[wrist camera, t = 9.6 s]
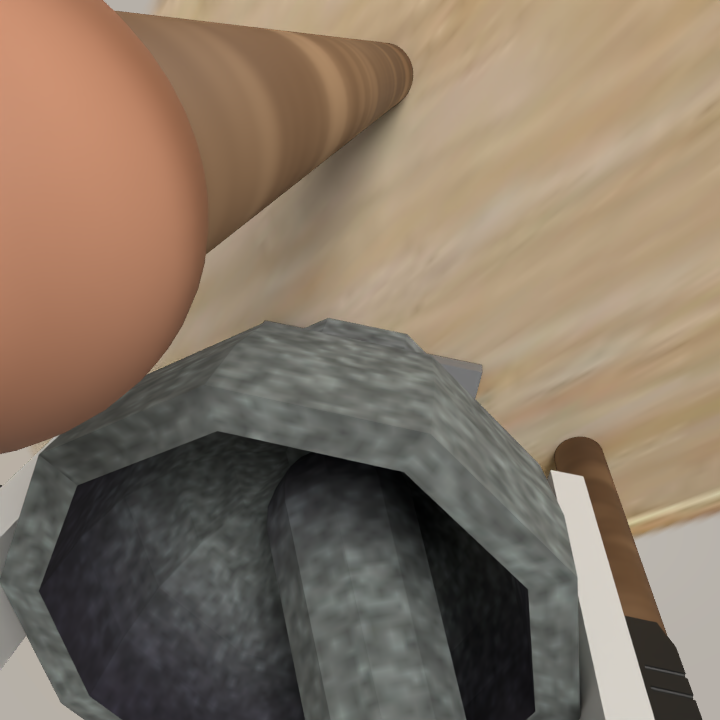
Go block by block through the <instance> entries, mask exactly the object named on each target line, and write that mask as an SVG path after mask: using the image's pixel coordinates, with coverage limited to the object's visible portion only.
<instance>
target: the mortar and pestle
mask: <svg viewBox="0 0 720 720" xmlns="http://www.w3.org/2000/svg"><path fill="white" fill-rule="evenodd" d="M0 585H1V587H2V588H3V590H4V592H5V594H6V596H7V598H8V600H9V602H10V604H11V606H12V608H13V610H14V612H15V614H16V616H17V618H18V620H19V622H20V624H21V626H22V628H23V630H24V631H25V633H26V635H27V637H28V639H29V641H30V643H31V645H32V647H33V649H34V651H35V653H36V655H37V657H38V659H39V661H40V663H41V665H42V667H43V669H44V670H45V673H46V674H47V676H48V678H49V680H50V682H51V684H52V686H53V688H54V690H55V692H56V694H57V696H58V698H59V700H60V702H61V703H62V704H63V705H65V706H66V707H67V708H69V709H70V710H72V711H73V712H74V713H76V714H77V715H79V716H80V717H81V718H83V719H84V720H579V719H580V689H579V632H578V577H577V572H576V568H575V563H574V558H573V554H572V549H571V544H570V540H569V535H568V530H567V526H566V521H565V516H564V514H563V512H562V510H561V508H560V506H559V504H558V502H557V500H556V497H555V495H554V493H553V491H552V489H551V487H550V485H549V483H548V481H547V479H546V477H545V475H544V473H543V471H542V469H541V467H540V465H539V464H538V463H537V462H536V461H535V460H534V459H533V458H532V457H531V456H530V455H529V454H528V453H527V452H526V450H525V449H524V448H523V447H522V446H521V445H520V444H519V443H518V442H517V441H516V440H515V439H514V438H513V437H512V436H511V435H510V434H509V433H508V432H507V431H506V430H505V429H504V428H503V427H502V426H501V425H500V424H499V423H498V422H497V421H496V420H495V419H494V418H493V417H492V416H491V415H490V414H489V413H488V412H487V411H486V410H485V409H484V408H483V407H482V406H481V405H480V404H479V403H478V402H477V401H476V400H475V399H474V398H473V397H472V396H471V395H470V394H469V393H468V392H467V391H466V390H465V389H464V388H463V387H462V386H461V384H460V383H459V382H458V381H457V380H456V379H455V378H454V377H453V376H452V375H451V374H450V373H449V372H448V371H447V370H446V369H445V368H444V367H443V366H442V365H441V364H440V363H439V362H438V361H437V360H436V359H435V358H434V357H433V356H432V355H428V354H426V353H425V352H424V351H423V350H422V349H421V348H420V347H419V346H418V345H417V344H416V343H415V342H414V341H413V340H412V339H411V338H410V337H409V336H408V335H407V334H403V333H398V332H394V331H389V330H384V329H379V328H374V327H369V326H365V325H360V324H355V323H350V322H345V321H340V320H336V319H331V318H327V319H325V320H323V321H320V322H318V323H316V324H313V325H311V326H309V327H306V328H299V327H294V326H289V325H284V324H280V323H275V322H270V321H267V322H265V323H263V324H260V325H258V326H256V327H254V328H251V329H249V330H247V331H244V332H242V333H240V334H238V335H235V336H233V337H231V338H229V339H226V340H224V341H222V342H220V343H217V344H215V345H213V346H211V347H208V348H206V349H204V350H202V351H199V352H197V353H195V354H192V355H190V356H188V357H186V358H183V359H181V360H179V361H177V362H174V363H172V364H170V365H168V366H165V367H163V368H161V369H159V370H156V371H154V372H152V373H150V374H147V375H146V376H145V377H144V378H143V379H142V380H141V381H140V382H139V383H138V384H136V385H135V386H134V387H133V388H132V389H130V390H129V391H128V392H127V393H126V394H124V395H123V396H122V397H121V398H119V399H118V400H117V401H116V402H115V403H113V404H112V405H111V406H110V407H108V408H107V409H106V410H104V411H103V412H101V413H99V414H97V415H96V416H94V417H92V418H90V419H89V420H87V421H85V422H83V423H81V424H80V425H78V426H76V427H74V428H72V429H71V430H69V431H67V432H65V433H63V434H61V435H59V436H58V437H57V438H56V439H55V440H54V441H53V442H51V443H50V444H49V445H48V446H47V447H46V448H45V449H44V450H43V451H42V452H41V453H40V454H39V455H38V458H37V462H36V465H35V468H34V471H33V474H32V477H31V481H30V484H29V487H28V490H27V493H26V496H25V500H24V503H23V506H22V509H21V512H20V516H19V519H18V522H17V525H16V528H15V531H14V535H13V538H12V541H11V544H10V547H9V550H8V554H7V557H6V560H5V563H4V566H3V570H2V573H1V576H0Z"/></svg>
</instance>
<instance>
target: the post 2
mask: <svg viewBox="0 0 720 720" xmlns="http://www.w3.org/2000/svg"><path fill="white" fill-rule="evenodd" d="M554 458H555V463H556V468H557V471H558V472H563V473H568V474H574V475H579V476H583V477H584V480H585V484H586V487H587V491H588V494H589V498H590V501H591V504H592V508H593V511H594V515H595V518H596V521H597V525H598V528H599V532H600V535H601V538H602V542H603V545H604V549H605V552H606V555H607V559H608V562H609V566H610V569H611V572H612V576H613V579H614V583H615V586H616V589H617V593H618V596H619V600H620V603H621V606H622V610H623V613H624V616H629V617H634V618H639V619H643V620H648V621H653V622H657V623H658V625H659V626H660V627H661V628H662V630H663V631H664V632H665V634H666V635H667V633H666V630H665V628H664V625H663V622H662V619H661V616H660V613H659V611H658V608H657V605H656V602H655V599H654V596H653V593H652V591H651V588H650V585H649V582H648V579H647V576H646V573H645V571H644V568H643V565H642V562H641V559H640V556H639V553H638V551H637V548H636V545H635V542H634V539H633V536H632V533H631V531H630V528H629V525H628V522H627V519H626V516H625V513H624V511H623V508H622V505H621V502H620V499H619V496H618V494H617V491H616V488H615V485H614V482H613V479H612V476H611V474H610V471H609V468H608V465H607V462H606V459H605V456H604V454H603V451H602V448H601V447H600V445H599V444H598V443H597V442H595V441H594V440H592V439H590V438H586V437H574V438H570V439H568V440H566V441H564V442H563V443H561V444H560V445H559V446H558V448H557V449H556V452H555V456H554Z"/></svg>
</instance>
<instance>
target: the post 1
mask: <svg viewBox="0 0 720 720" xmlns="http://www.w3.org/2000/svg"><path fill="white" fill-rule="evenodd" d="M412 81H413V68H412V64H411V61H410V59H409V57H408V56H407V54H406V53H405V52H404V51H403V50H402V49H401V48H399V47H398V46H396V45H393V44H390V43H382V42H374V41H366V40H357V39H349V38H340V37H332V36H323V35H315V34H306V33H298V32H290V31H281V30H273V29H264V28H256V27H247V26H239V25H231V24H222V23H214V22H205V21H197V20H188V19H180V18H171V17H163V16H155V15H146V14H138V13H129V12H120V11H114V10H113V9H111V8H110V7H109V6H108V5H107V4H106V3H105V2H104V1H103V0H0V454H2V453H6V452H12V451H16V450H19V449H22V448H25V447H28V446H31V445H34V444H36V443H39V442H42V441H45V440H47V439H50V438H53V437H55V436H58V435H61V434H63V433H65V432H67V431H69V430H71V429H72V428H74V427H76V426H78V425H80V424H81V423H83V422H85V421H87V420H89V419H90V418H92V417H94V416H96V415H97V414H99V413H101V412H103V411H104V410H106V409H107V408H108V407H110V406H111V405H112V404H113V403H115V402H116V401H117V400H118V399H119V398H121V397H122V396H123V395H124V394H126V393H127V392H128V391H129V390H130V389H132V388H133V387H134V386H135V385H136V384H138V383H139V382H140V381H141V380H142V379H143V378H144V377H145V376H146V374H147V373H148V372H149V371H150V370H151V369H152V367H153V366H154V365H155V364H156V363H157V362H158V361H159V359H160V358H161V357H162V355H163V354H164V353H165V352H166V350H167V349H168V348H169V346H170V345H171V343H172V341H173V340H174V338H175V337H176V335H177V333H178V332H179V330H180V329H181V327H182V325H183V323H184V321H185V318H186V316H187V314H188V312H189V309H190V307H191V304H192V302H193V300H194V297H195V295H196V293H197V290H198V287H199V283H200V279H201V275H202V272H203V268H204V264H205V255H206V254H207V253H208V252H210V251H211V250H212V249H213V248H215V247H216V246H217V245H218V244H220V243H221V242H222V241H224V240H225V239H226V238H227V237H229V236H230V235H231V234H232V233H234V232H235V231H236V230H237V229H239V228H240V227H241V226H243V225H244V224H245V223H246V222H248V221H249V220H250V219H251V218H253V217H254V216H255V215H257V214H258V213H259V212H260V211H262V210H263V209H264V208H265V207H267V206H268V205H269V204H270V203H272V202H273V201H274V200H276V199H277V198H278V197H279V196H281V195H282V194H283V193H284V192H286V191H287V190H288V189H290V188H291V187H292V186H293V185H295V184H296V183H297V182H298V181H300V180H301V179H302V178H303V177H305V176H306V175H307V174H309V173H310V172H311V171H312V170H314V169H315V168H316V167H317V166H319V165H320V164H321V163H322V162H324V161H325V160H326V159H328V158H329V157H330V156H331V155H333V154H334V153H335V152H336V151H338V150H339V149H340V148H342V147H343V146H344V145H345V144H347V143H348V142H349V141H350V140H352V139H353V138H354V137H355V136H357V135H358V134H359V133H361V132H362V131H363V130H364V129H366V128H367V127H368V126H369V125H371V124H372V123H373V122H375V121H376V120H377V119H378V118H380V117H381V116H382V115H383V114H385V113H386V112H387V111H388V110H390V109H391V108H392V107H394V106H395V105H396V104H397V103H399V102H400V101H401V100H402V99H403V98H404V97H405V96H406V95H407V93H408V92H409V90H410V88H411V85H412Z"/></svg>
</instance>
